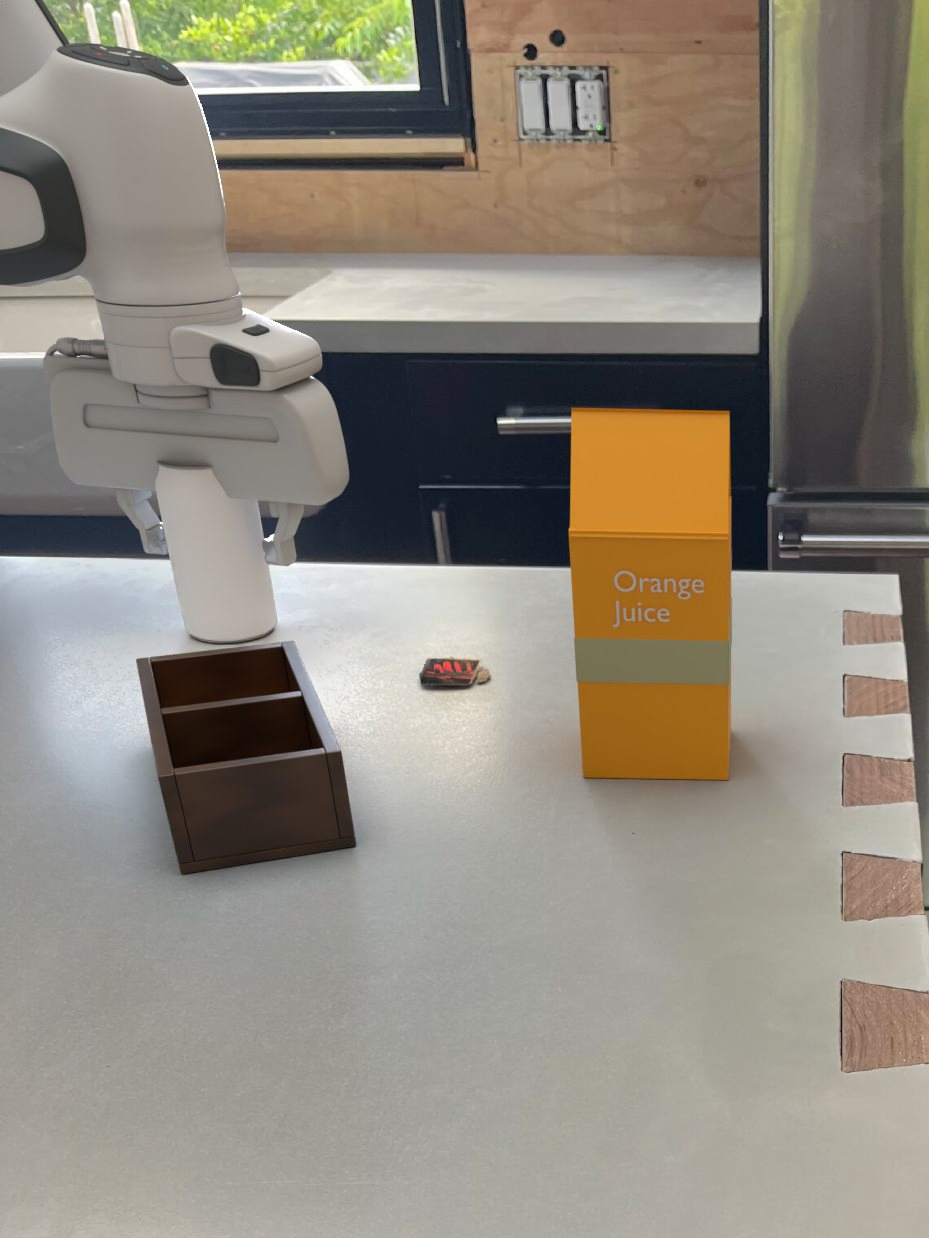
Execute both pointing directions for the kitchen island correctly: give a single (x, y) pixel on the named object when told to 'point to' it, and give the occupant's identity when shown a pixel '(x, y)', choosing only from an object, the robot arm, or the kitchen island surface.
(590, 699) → the orange juice
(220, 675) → the holder
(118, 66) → the robot arm
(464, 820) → the kitchen island surface
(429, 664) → the matchbox
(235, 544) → the can
